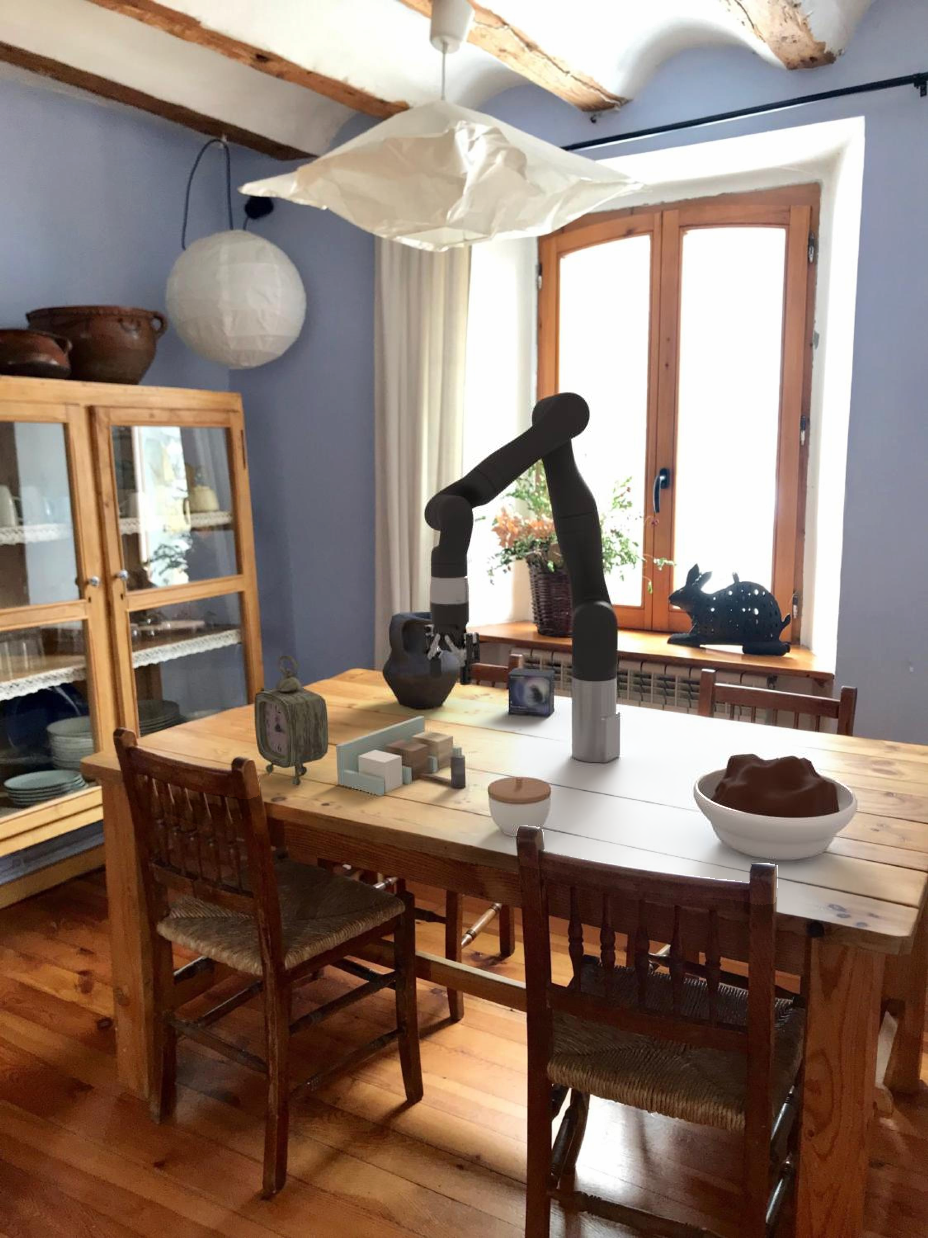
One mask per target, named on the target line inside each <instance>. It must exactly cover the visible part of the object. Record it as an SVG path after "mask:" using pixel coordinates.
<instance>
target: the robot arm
mask: <svg viewBox="0 0 928 1238" xmlns="http://www.w3.org/2000/svg"><path fill="white" fill-rule="evenodd" d="M590 416H591V413H590V407H589V404H588V402H587V400H586V399H585V398H584V397H583V396H582V395H580V394H578V393H575V392H571V391H565V392H558V393H556V394H553V395H549V396H546V397H544V398H541V399H540V400H539V401H537V402H536V403H535V405H534V407H533V409H532V413H531V426H530V427H529V428H527V429H526V430H525V431H524V432H523V433H521V434H520V435H518V436H516V438H513V439H512V440H511V441H509V442H508V443H506V444H504V445H502V446H501V447H500V448H498V449H496V450H495V451H493V452H491V454H489V455H488V456H487V457H485V458H484V459H483V460H481V461H480V462H479V463H478V464H477V465H476V466H475V467H473V468H472V469H471V470H470V471H469V472H468V473H467V474H466V475H465V476H463V477H461V478H460V479H458V480H457V481H454V482H453V483H451V484H449V485H447V486H445V488H443V489H441V490H440V491H438V492H437V493H435V494H434V495H433V496H432V497H431V498H430V499H429V500H428V502H427V503H426V505H425V508H424V511H423V512H424V514H423V516H424V521H425V522H426V524H427V525H428V527H430V528H431V529H432V530H434V531H438V532H439V537H438V539H439V540H438V544H437V545H436V546H434V547H433V548H432V550H431V554H430V584H429V609H430V611H429V612H430V621H431V623H432V624H431V625H425V626H423V627H422V654H423V655H426V656H428V659H430V675H431V678H439V677H441V659H439V657H440V656H441V654H442V653H443V651H445V650H447V651H448V652H452V653H453V655H454V656H455V657H457V658H458V661H459V663H460V665H461V666H460V676H459V678H460V679H459V683H460V685H461V686H463V687H464V686H468V685H471V683H472V680H473V665H476V664H479V663H481V651H480V650H481V649H480V634H479V632H477V631H475V632H468V630H467V625H468V623H469V622H470V591H469V590H470V586H469V579H468V551H469V548H470V543H471V538H472V534H473V531H474V520H475V519H474V518H475V517H474V512H473V509H475V508H477V507H483V506H486V505H487V504H489V503H490V502H492V501H494V499H496V498H498V496H499V495H500V494H501V493H502V492H504V491H505V490H506V489H507V488H508V487H510V486H511V485H512V484H513V483H514V482H515V481H516V480H517V479H519V477H521V476H522V475H523V474H524V473H526V472H527V470H529V469H531V468H532V467H533V466H534V465H535V464H537V462H539V461H540V460H541V463H542V466H543V471H544V476H545V481H546V488H547V491H548V498H549V501H550V508H551V513H552V514H551V515H552V522H553V526H554V532H555V538H556V542H557V546H558V548H559V552H560V555H561V559H562V562H563V565H564V567H565V571H566V573H567V577H568V582H569V586H570V587H569V588H570V589H569V590H570V597H571V614H572V615H571V756H572V757H573V758H574V759H576V760H577V761H582V762H586V763H588V762H589V763H603V764H607V763H609V762H610V761H612V760H614V759H617V758H619V757H620V756H621V712H620V711H617V689H618V688H617V676H618V675H617V672H618V671H617V670H618V650H619V649H618V648H619V647H618V643H619V642H618V640H619V639H618V638H619V627H618V623H619V622H618V618H617V614H616V611H615V609H614V606H613V604H612V601H611V597H610V593H609V590H608V586H607V584H606V578H605V573H604V559H603V556H604V555H603V554H604V552H603V549H604V548H603V538H602V537H603V536H602V528H601V521H600V516H599V511H598V505H597V502H596V498H595V497H594V494H593V492H592V490H591V489H590V487H589V485H588V484H587V482H586V480H585V479H584V477H583V475H582V474H581V472H580V470H579V468H578V465H577V462H576V459H575V456H574V455H575V454H574V449H573V441H572V439H574V438H576V437H578V436H580V435H581V434H582V433H583V432H584V431H585V430H586V428H587V426H588V425H589V422H590ZM428 643H429V648H427V644H428Z"/></svg>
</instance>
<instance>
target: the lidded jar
mask: <svg viewBox="0 0 928 1238" xmlns="http://www.w3.org/2000/svg"><path fill="white" fill-rule="evenodd" d="M487 786H488V787H487V795H488V807H489V814H490V816H491V818H492V820H493V823H494V824H495V825H496V826H497V827H498V828H499V829H500V830H501V832H502V833H503V834H504V835H506V836H508V837H513V838H514V837H515V838H517V837H516V833H517V829H518V827H519V826H520V825H528V826H536V827H541V828H542V827H543V825H545V823H546V821H547V819H548V818H549V815H550V808H551V795H552V794H551V793H552V787H551V784H549V783H548V782H546V780H545V781H544V780H542V779H539V778H536V777H530V776H529V777H527V776H510V777H504V778H500V779H496V780H494V781H492V782H490V783H489V785H487Z"/></svg>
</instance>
